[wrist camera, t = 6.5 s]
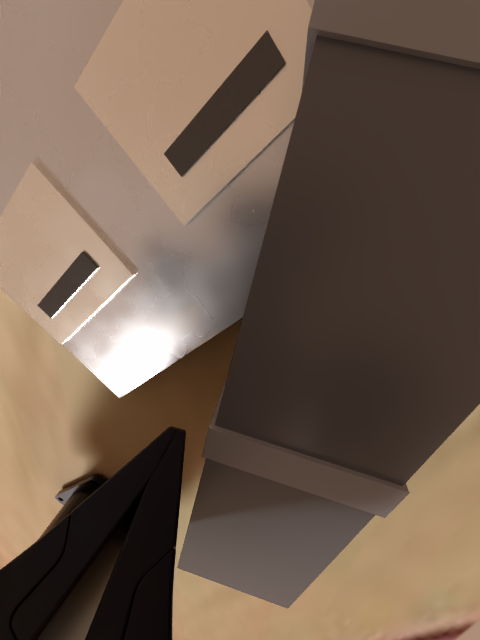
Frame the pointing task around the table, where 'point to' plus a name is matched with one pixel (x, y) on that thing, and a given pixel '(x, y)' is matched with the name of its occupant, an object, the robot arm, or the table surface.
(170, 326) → the panel
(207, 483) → the bar
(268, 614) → the table surface
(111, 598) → the robot arm
